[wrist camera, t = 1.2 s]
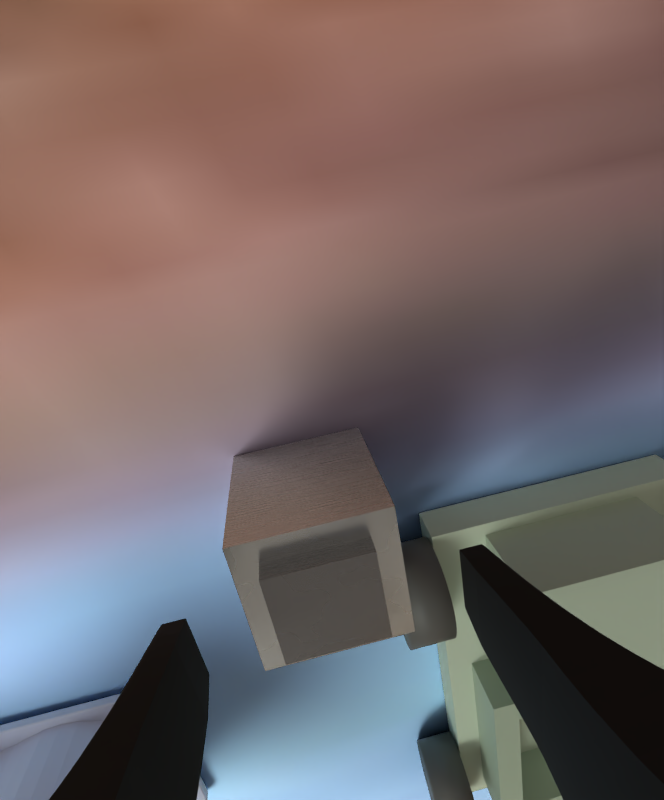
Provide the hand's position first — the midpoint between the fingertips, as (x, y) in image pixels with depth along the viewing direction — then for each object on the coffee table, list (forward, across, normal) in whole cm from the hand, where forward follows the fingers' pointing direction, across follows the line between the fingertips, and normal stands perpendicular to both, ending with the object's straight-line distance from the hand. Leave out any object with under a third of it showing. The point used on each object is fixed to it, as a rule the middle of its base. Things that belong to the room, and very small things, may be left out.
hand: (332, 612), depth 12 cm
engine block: (+6, 0, 0) cm, 6 cm away
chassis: (+6, -9, +10) cm, 15 cm away
